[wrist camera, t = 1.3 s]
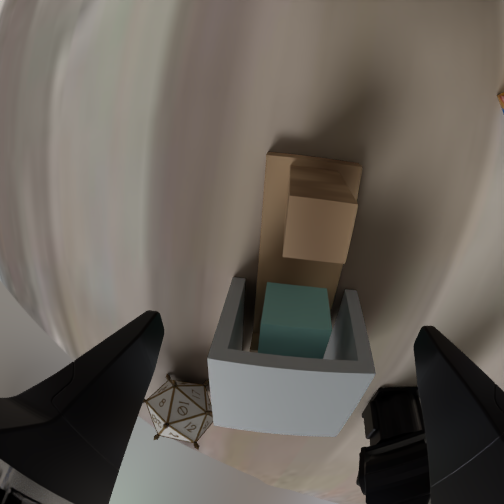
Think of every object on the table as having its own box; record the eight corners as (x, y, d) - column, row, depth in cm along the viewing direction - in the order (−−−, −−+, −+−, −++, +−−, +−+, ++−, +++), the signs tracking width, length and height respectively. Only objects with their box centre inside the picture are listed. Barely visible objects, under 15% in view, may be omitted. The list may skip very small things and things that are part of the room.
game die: (191, 368, 36) (142, 419, 32) (170, 343, 30) (110, 406, 25) (244, 408, 32) (193, 466, 28) (234, 394, 26) (169, 466, 21)
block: (326, 288, 21) (332, 330, 18) (315, 331, 24) (317, 373, 20) (267, 281, 22) (260, 323, 18) (262, 325, 24) (256, 367, 20)
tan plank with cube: (358, 163, 18) (391, 198, 12) (319, 336, 26) (322, 402, 19) (267, 151, 18) (254, 180, 12) (254, 329, 26) (242, 395, 20)
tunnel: (356, 290, 23) (375, 373, 15) (331, 361, 27) (336, 436, 20) (233, 276, 23) (207, 358, 16) (231, 351, 28) (213, 425, 21)
